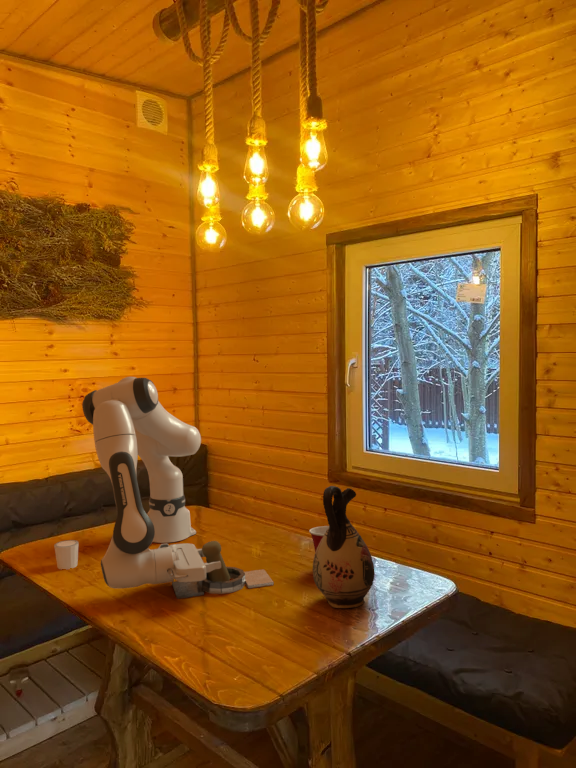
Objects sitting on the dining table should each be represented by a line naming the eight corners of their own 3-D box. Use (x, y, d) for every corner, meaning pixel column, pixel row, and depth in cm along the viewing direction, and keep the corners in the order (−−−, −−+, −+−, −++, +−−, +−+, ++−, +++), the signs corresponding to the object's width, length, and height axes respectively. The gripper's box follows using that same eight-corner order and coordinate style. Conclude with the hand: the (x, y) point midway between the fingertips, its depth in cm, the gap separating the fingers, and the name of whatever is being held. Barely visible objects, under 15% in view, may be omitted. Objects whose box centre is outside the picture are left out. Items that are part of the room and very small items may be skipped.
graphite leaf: (171, 583, 170) (171, 573, 170) (239, 574, 176) (238, 564, 176) (177, 600, 159) (177, 589, 159) (249, 589, 165) (249, 579, 164)
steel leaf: (197, 579, 172) (197, 575, 172) (262, 570, 178) (262, 566, 178) (204, 596, 161) (204, 591, 161) (274, 586, 167) (274, 581, 167)
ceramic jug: (333, 584, 167) (331, 475, 165) (385, 597, 158) (383, 481, 156) (297, 607, 153) (295, 488, 151) (352, 623, 144) (350, 496, 142)
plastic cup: (344, 562, 184) (343, 522, 183) (350, 575, 173) (350, 533, 172) (308, 563, 183) (307, 524, 182) (312, 577, 172) (311, 535, 171)
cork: (234, 575, 171) (225, 538, 170) (221, 586, 166) (212, 548, 164) (217, 574, 174) (208, 538, 173) (204, 585, 169) (194, 547, 168)
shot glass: (84, 564, 187) (83, 541, 187) (66, 571, 181) (65, 548, 181) (68, 560, 190) (67, 538, 190) (50, 568, 184) (49, 545, 184)
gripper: (169, 566, 153) (224, 559, 158) (160, 542, 173) (209, 536, 177) (170, 591, 154) (225, 583, 158) (161, 564, 173) (210, 557, 177)
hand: (217, 558), depth 168 cm, fingers open, 8 cm apart
